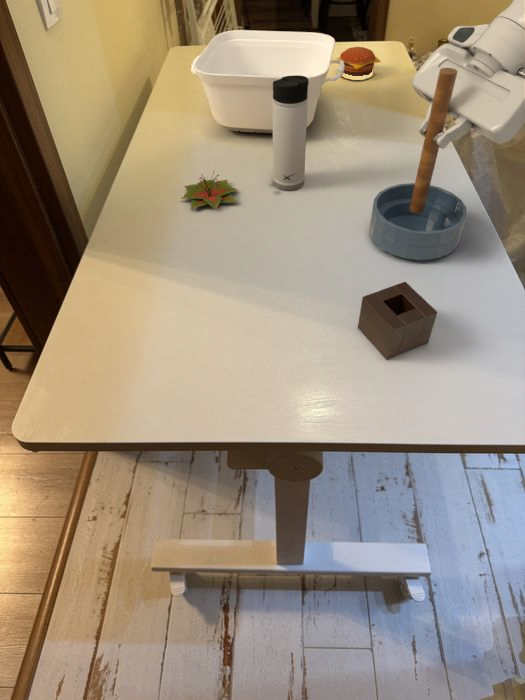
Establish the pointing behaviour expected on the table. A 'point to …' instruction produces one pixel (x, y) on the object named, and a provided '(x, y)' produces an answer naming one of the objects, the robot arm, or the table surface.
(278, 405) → the table surface
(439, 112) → the stirring stick
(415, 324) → the holder
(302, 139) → the travel mug
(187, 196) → the lily flower
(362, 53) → the hamburger
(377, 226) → the bowl
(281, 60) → the white plastic tub
